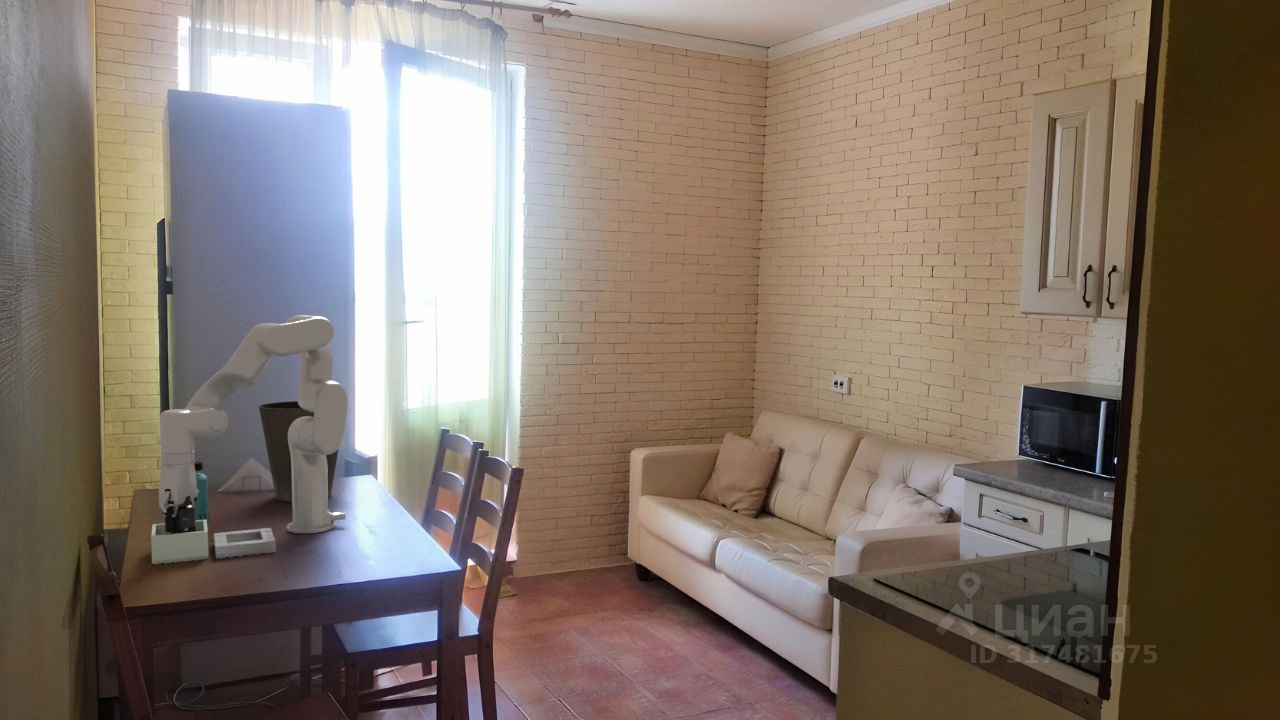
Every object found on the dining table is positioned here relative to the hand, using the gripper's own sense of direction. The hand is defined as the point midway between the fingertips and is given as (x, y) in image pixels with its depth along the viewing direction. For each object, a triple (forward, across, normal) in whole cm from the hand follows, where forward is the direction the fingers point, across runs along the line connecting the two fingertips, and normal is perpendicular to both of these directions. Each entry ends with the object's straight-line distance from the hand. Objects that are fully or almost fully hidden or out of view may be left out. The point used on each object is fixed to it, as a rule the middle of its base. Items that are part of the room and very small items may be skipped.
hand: (180, 527), depth 241 cm
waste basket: (+8, -65, +4) cm, 66 cm away
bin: (+7, 0, 0) cm, 7 cm away
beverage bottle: (+7, -19, -7) cm, 22 cm away
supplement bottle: (+4, 0, 0) cm, 4 cm away
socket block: (+7, -7, +13) cm, 16 cm away
